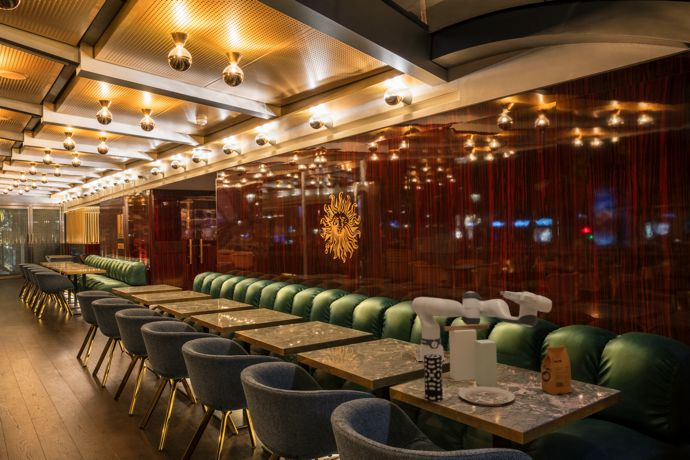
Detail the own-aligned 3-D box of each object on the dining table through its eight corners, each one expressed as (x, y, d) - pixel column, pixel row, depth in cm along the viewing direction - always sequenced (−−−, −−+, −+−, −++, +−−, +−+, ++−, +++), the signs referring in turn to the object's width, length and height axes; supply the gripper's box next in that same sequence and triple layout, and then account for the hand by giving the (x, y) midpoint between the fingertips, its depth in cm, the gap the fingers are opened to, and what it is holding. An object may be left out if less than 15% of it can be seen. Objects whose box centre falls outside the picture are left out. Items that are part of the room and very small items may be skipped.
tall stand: (450, 376, 269) (449, 329, 269) (471, 375, 271) (469, 327, 272) (456, 381, 261) (455, 331, 261) (477, 379, 263) (476, 330, 264)
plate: (447, 394, 239) (447, 390, 239) (491, 388, 248) (491, 384, 248) (480, 411, 215) (479, 406, 215) (527, 403, 224) (527, 398, 224)
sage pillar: (475, 383, 256) (474, 340, 257) (489, 381, 258) (488, 339, 258) (482, 387, 249) (481, 343, 249) (497, 386, 250) (496, 342, 251)
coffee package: (538, 389, 243) (537, 344, 243) (560, 387, 246) (558, 343, 246) (552, 395, 233) (550, 349, 234) (574, 393, 236) (572, 347, 237)
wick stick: (444, 330, 266) (444, 326, 266) (487, 327, 271) (487, 324, 271) (446, 331, 263) (445, 327, 263) (489, 328, 268) (489, 324, 268)
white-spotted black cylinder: (421, 397, 234) (420, 355, 235) (436, 395, 238) (434, 353, 238) (431, 402, 227) (430, 359, 227) (446, 400, 230) (445, 356, 231)
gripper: (536, 307, 273) (515, 301, 269) (515, 302, 292) (495, 296, 289) (539, 296, 273) (518, 290, 270) (517, 292, 293) (497, 286, 290)
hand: (505, 293), depth 280 cm, fingers open, 8 cm apart
